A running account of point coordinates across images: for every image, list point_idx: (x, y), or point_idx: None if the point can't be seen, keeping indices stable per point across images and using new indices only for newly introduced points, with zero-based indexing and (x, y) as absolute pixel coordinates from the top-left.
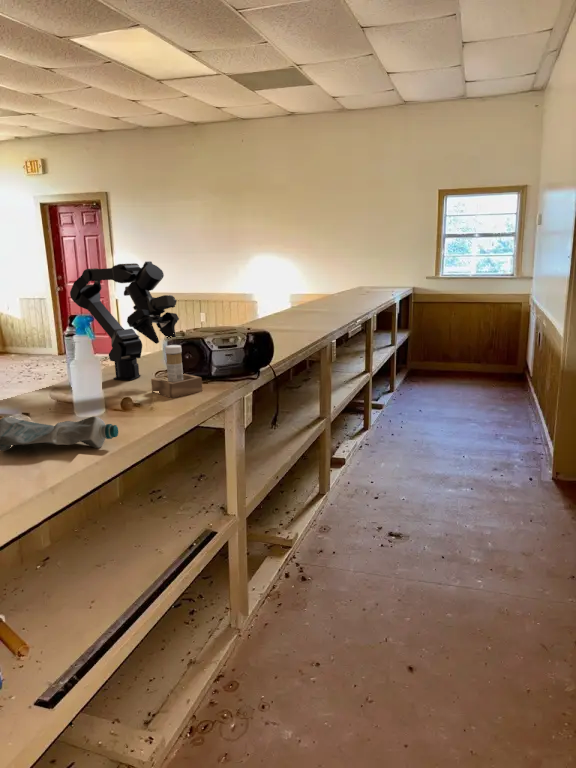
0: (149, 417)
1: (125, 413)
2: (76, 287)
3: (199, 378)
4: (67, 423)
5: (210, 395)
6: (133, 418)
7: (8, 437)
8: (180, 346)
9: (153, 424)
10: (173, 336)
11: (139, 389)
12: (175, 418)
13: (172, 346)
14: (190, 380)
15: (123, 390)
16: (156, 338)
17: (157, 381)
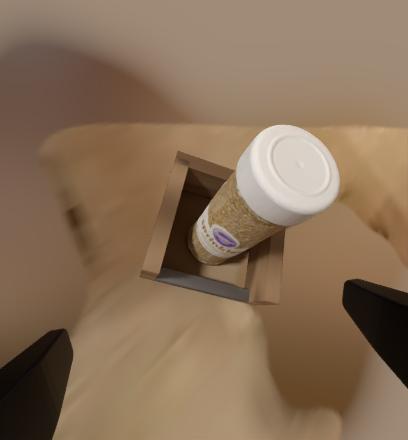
0: (372, 167)
1: (390, 224)
2: None
3: (186, 154)
4: None
5: (199, 135)
6: (392, 189)
7: None
8: (276, 125)
9: (384, 141)
10: (23, 392)
11: (250, 385)
12: (348, 125)
13: (311, 159)
14: (222, 167)
15: (289, 433)
16: (391, 291)
17: (280, 264)
